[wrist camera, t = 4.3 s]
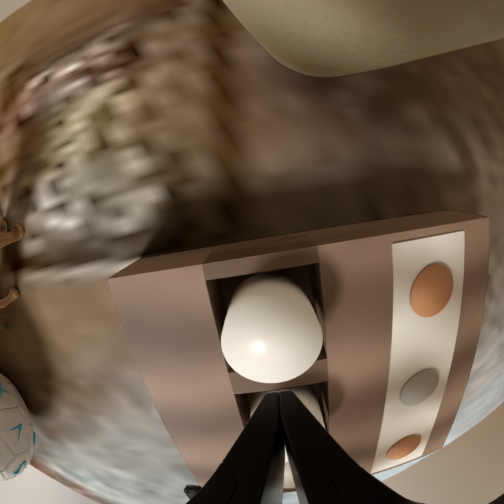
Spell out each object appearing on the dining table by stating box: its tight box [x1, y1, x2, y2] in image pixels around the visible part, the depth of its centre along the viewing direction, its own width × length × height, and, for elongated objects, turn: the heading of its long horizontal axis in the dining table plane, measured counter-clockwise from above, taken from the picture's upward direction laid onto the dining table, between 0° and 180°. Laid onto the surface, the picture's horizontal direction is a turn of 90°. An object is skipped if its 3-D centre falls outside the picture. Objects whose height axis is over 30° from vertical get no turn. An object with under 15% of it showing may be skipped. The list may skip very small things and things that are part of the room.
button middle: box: [250, 385, 325, 462], centre depth 15 cm, size 4×4×4 cm
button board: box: [108, 210, 490, 492], centre depth 17 cm, size 21×22×5 cm
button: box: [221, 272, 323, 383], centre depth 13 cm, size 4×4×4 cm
